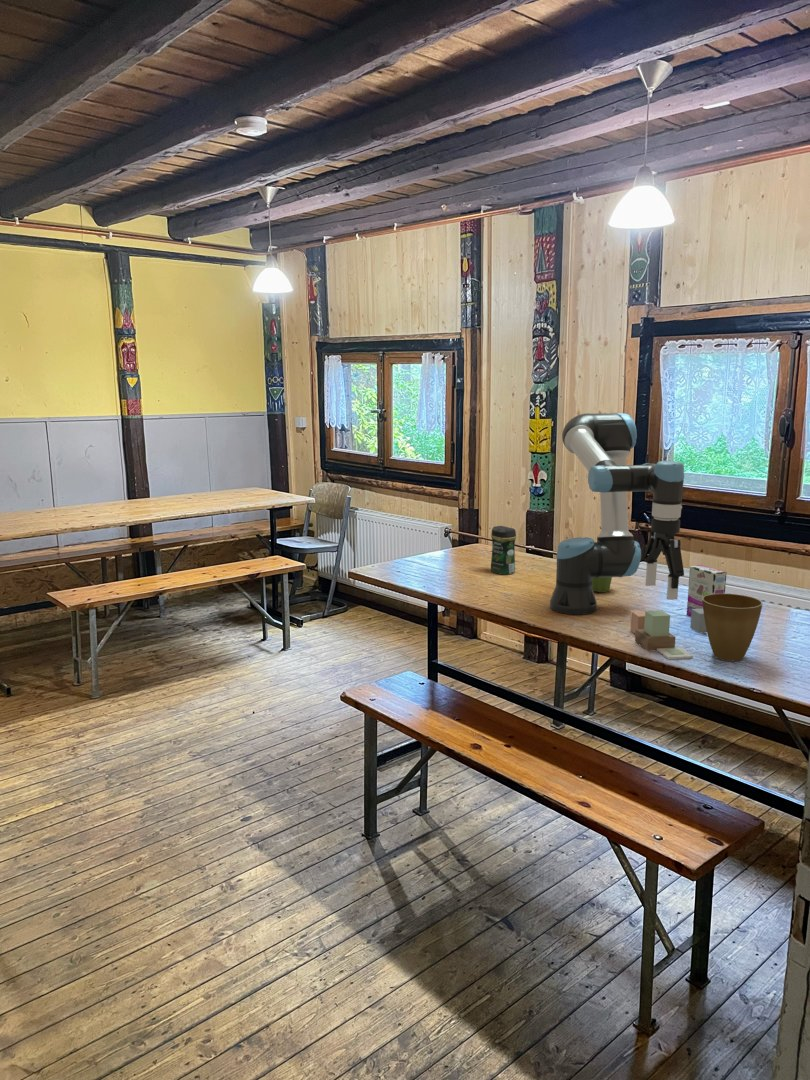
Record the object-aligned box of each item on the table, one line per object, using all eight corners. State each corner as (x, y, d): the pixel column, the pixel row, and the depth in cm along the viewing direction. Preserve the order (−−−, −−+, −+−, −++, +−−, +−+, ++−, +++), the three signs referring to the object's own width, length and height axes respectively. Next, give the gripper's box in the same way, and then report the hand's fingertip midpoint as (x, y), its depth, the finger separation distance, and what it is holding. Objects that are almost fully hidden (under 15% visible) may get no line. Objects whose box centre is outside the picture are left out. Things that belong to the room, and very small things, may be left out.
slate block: (690, 627, 230) (691, 609, 228) (705, 627, 230) (707, 608, 229) (698, 633, 225) (699, 613, 224) (714, 632, 225) (715, 613, 224)
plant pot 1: (601, 596, 265) (602, 565, 262) (575, 589, 274) (576, 559, 272) (623, 590, 271) (624, 560, 269) (597, 584, 281) (598, 554, 279)
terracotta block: (630, 630, 228) (631, 611, 226) (646, 629, 228) (647, 610, 227) (637, 635, 223) (638, 616, 221) (653, 635, 223) (654, 615, 222)
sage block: (644, 631, 215) (645, 610, 214) (660, 630, 216) (662, 610, 215) (651, 636, 210) (653, 616, 209) (668, 635, 211) (670, 615, 210)
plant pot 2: (756, 651, 209) (761, 595, 206) (758, 669, 195) (763, 610, 192) (699, 644, 215) (703, 590, 211) (696, 661, 201) (701, 604, 198)
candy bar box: (723, 623, 234) (727, 571, 230) (710, 625, 232) (714, 573, 229) (698, 613, 244) (701, 564, 241) (685, 615, 242) (689, 565, 239)
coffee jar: (487, 571, 301) (487, 525, 298) (502, 568, 306) (502, 523, 302) (503, 576, 294) (504, 529, 290) (518, 573, 298) (519, 527, 294)
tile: (656, 650, 210) (656, 647, 210) (680, 649, 211) (680, 646, 211) (668, 659, 203) (668, 656, 203) (692, 658, 204) (693, 655, 204)
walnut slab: (634, 642, 218) (635, 629, 217) (661, 641, 219) (661, 627, 218) (647, 652, 210) (648, 638, 209) (674, 650, 211) (675, 636, 210)
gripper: (701, 526, 196) (695, 604, 200) (659, 509, 220) (654, 579, 225) (674, 527, 195) (668, 605, 199) (634, 510, 219) (630, 580, 224)
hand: (660, 592), depth 212 cm, fingers open, 13 cm apart
